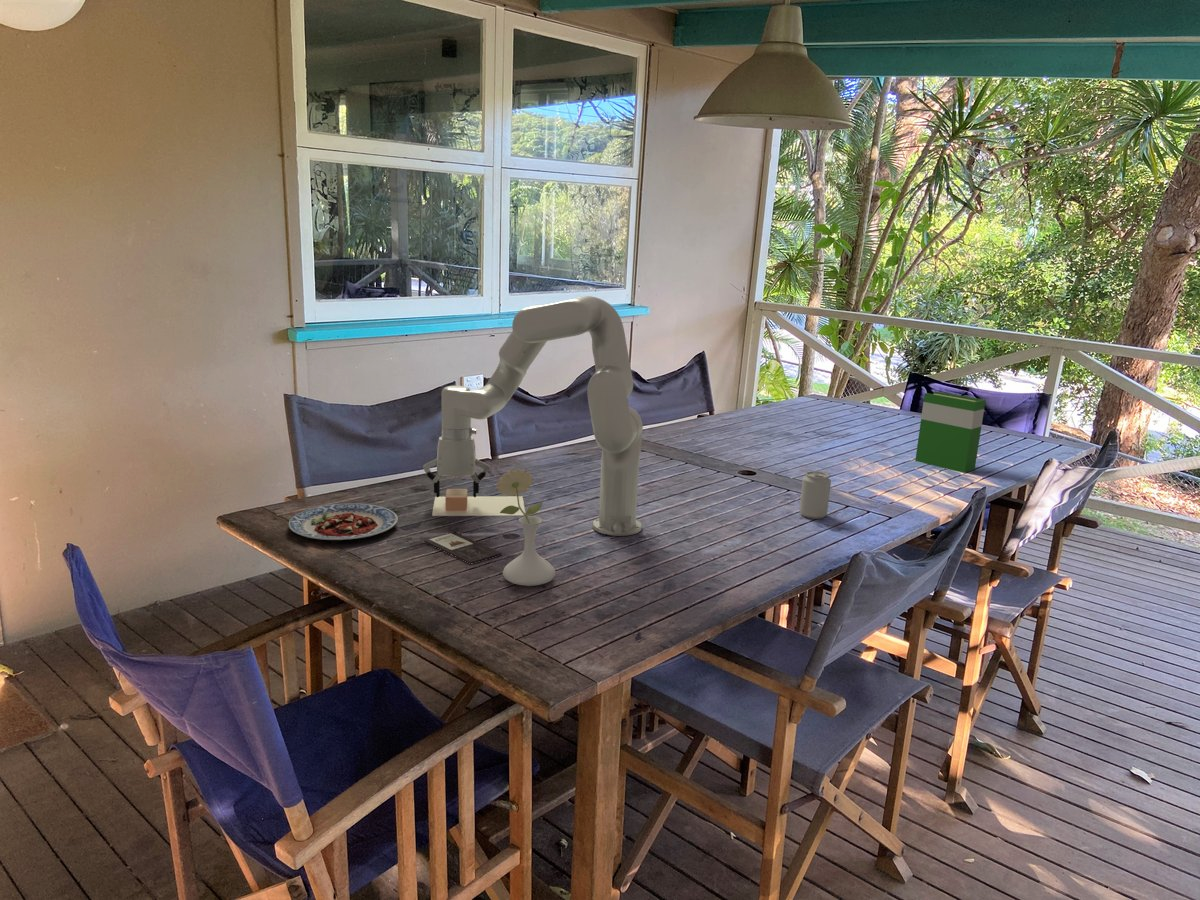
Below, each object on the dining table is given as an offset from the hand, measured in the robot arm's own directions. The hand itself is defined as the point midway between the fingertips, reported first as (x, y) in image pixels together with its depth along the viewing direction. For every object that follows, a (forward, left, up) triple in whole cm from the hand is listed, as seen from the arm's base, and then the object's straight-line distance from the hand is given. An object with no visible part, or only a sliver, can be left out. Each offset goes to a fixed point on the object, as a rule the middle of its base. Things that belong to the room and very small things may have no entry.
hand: (456, 495), depth 228 cm
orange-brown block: (0, 0, -3) cm, 3 cm away
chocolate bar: (-29, -2, -4) cm, 29 cm away
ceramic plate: (-14, +27, -4) cm, 31 cm away
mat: (0, -6, -4) cm, 7 cm away
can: (-7, -97, -4) cm, 97 cm away
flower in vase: (-48, -16, -4) cm, 51 cm away
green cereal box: (+44, -164, -4) cm, 170 cm away
